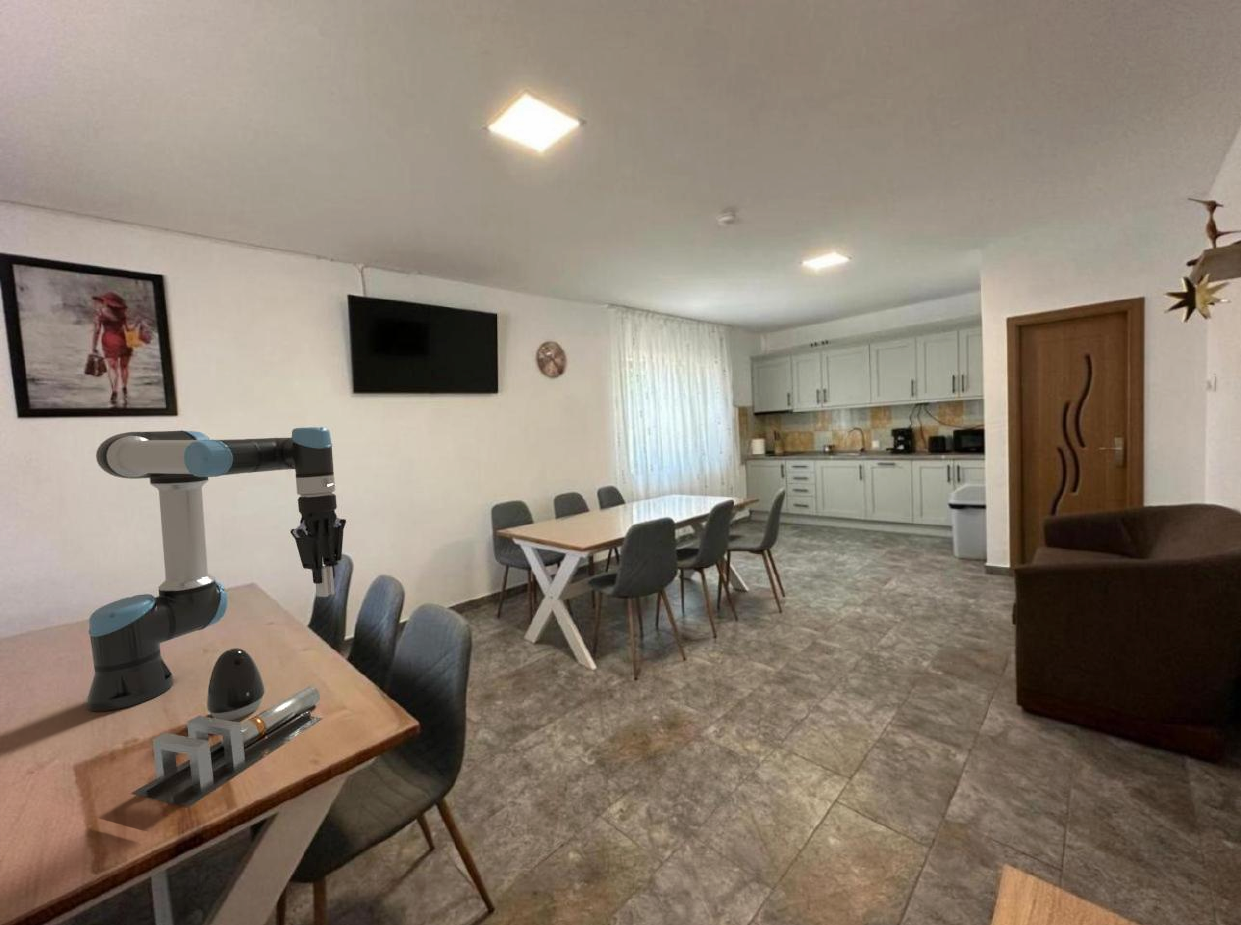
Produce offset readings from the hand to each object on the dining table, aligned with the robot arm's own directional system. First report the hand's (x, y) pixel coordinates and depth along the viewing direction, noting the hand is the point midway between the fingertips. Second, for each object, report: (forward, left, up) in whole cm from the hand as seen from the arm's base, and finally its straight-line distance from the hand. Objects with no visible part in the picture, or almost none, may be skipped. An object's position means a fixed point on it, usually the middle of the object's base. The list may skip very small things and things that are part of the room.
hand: (325, 594), depth 117 cm
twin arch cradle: (0, -22, -24) cm, 33 cm away
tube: (0, -14, -23) cm, 28 cm away
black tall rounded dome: (-15, -12, -25) cm, 31 cm away
